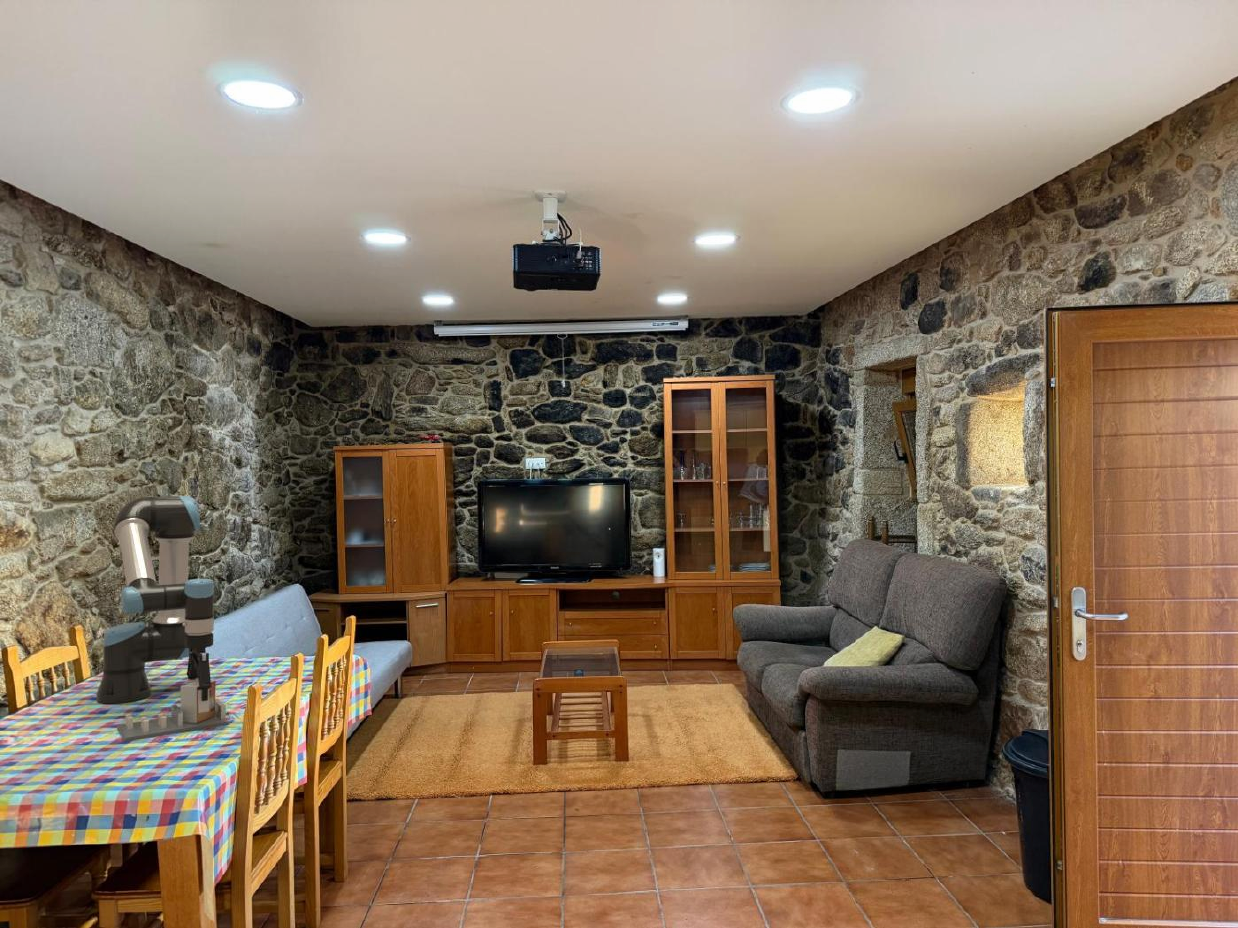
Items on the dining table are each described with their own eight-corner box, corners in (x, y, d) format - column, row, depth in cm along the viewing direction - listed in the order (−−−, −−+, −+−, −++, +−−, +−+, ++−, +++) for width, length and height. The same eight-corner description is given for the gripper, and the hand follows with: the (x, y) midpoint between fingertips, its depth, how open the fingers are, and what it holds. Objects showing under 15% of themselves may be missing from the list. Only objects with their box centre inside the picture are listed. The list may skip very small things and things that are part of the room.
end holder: (171, 719, 248) (171, 705, 248) (217, 712, 256) (217, 698, 256) (178, 727, 240) (178, 713, 240) (225, 719, 248) (225, 705, 248)
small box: (196, 723, 244) (196, 686, 244) (179, 722, 245) (179, 685, 245) (215, 716, 252) (216, 680, 252) (199, 714, 253) (199, 679, 253)
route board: (116, 728, 243) (117, 714, 243) (216, 713, 258) (216, 699, 258) (124, 741, 231) (124, 726, 231) (228, 724, 246) (228, 710, 247)
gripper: (176, 628, 256) (175, 699, 256) (193, 641, 236) (193, 718, 236) (203, 625, 261) (203, 695, 260) (223, 638, 241) (222, 713, 241)
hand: (198, 706), depth 248 cm, fingers open, 13 cm apart
